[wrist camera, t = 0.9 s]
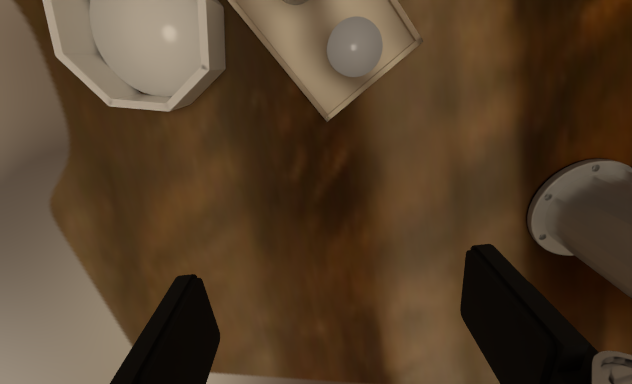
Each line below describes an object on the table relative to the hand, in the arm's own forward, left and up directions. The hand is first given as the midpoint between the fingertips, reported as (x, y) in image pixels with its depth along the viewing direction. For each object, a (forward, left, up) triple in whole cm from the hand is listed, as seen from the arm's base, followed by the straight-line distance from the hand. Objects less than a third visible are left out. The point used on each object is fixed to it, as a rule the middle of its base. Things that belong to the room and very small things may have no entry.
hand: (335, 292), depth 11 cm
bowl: (+6, -19, -25) cm, 32 cm away
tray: (-7, -9, -25) cm, 28 cm away
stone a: (-7, -5, -25) cm, 26 cm away
